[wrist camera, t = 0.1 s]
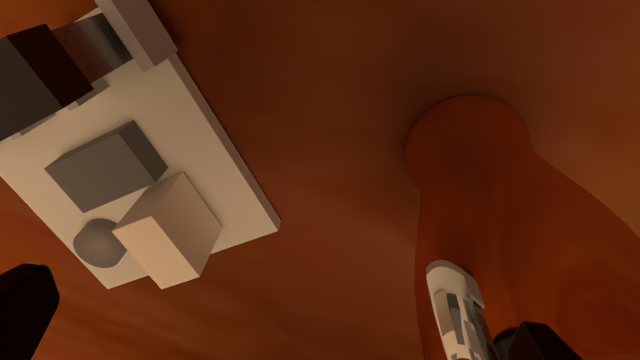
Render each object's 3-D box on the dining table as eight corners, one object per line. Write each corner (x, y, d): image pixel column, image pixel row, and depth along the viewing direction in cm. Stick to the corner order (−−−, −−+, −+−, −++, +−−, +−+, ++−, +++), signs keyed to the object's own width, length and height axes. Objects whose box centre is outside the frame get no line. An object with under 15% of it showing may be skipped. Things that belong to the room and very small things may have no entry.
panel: (291, 216, 25) (281, 257, 22) (115, 278, 29) (85, 320, 26) (145, -22, 19) (104, -11, 16) (-52, 97, 23) (-115, 124, 20)
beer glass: (379, 109, 21) (401, 387, 9) (526, 64, 20) (830, 328, 7) (413, 218, 25) (467, 541, 12) (543, 188, 23) (772, 527, 10)
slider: (222, 227, 25) (199, 276, 21) (189, 240, 25) (161, 289, 22) (182, 172, 23) (151, 215, 20) (148, 186, 24) (111, 231, 20)
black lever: (152, 53, 19) (63, 108, 13) (95, 83, 20) (-11, 147, 14) (118, 0, 18) (5, 36, 12) (59, 35, 19) (-70, 83, 13)
